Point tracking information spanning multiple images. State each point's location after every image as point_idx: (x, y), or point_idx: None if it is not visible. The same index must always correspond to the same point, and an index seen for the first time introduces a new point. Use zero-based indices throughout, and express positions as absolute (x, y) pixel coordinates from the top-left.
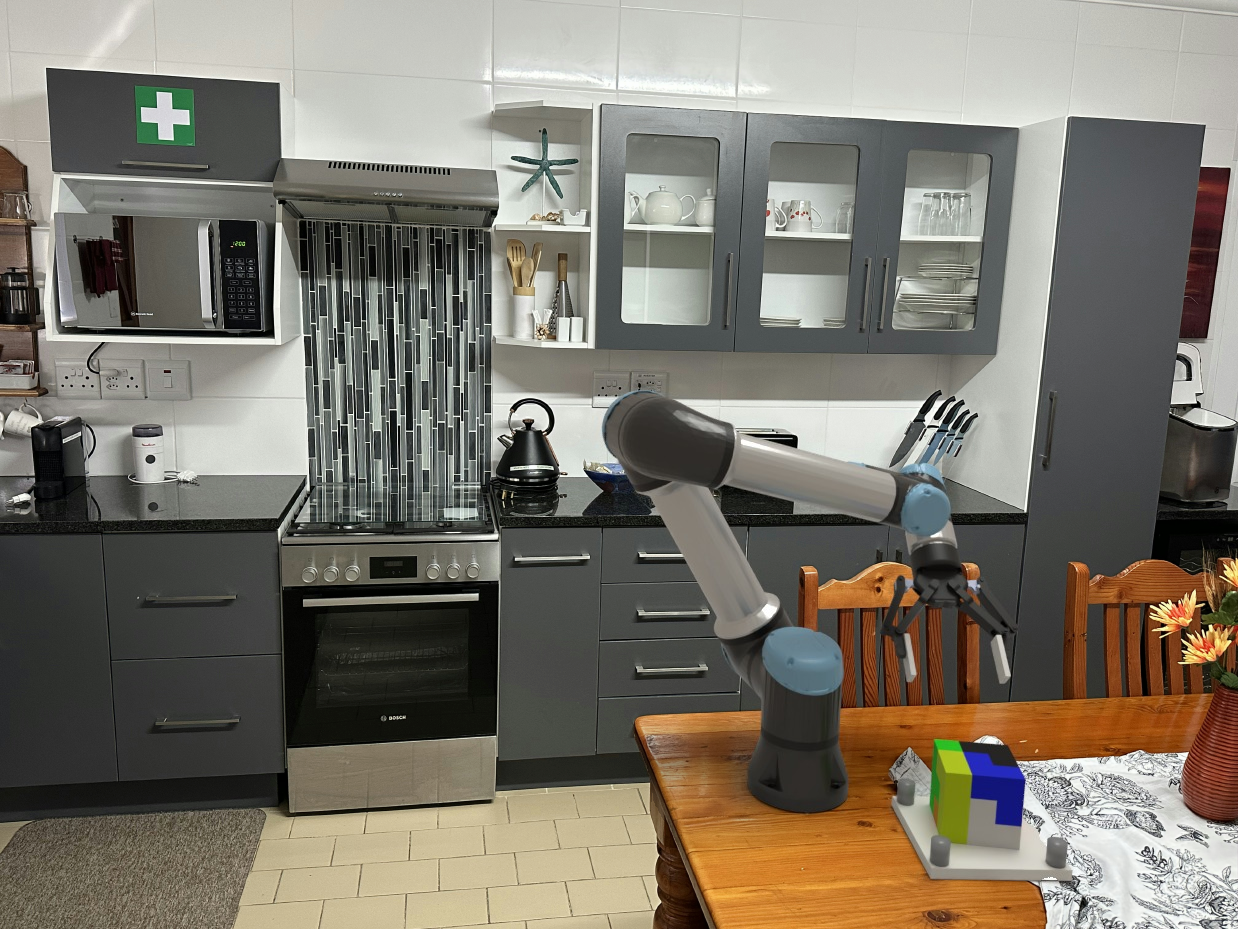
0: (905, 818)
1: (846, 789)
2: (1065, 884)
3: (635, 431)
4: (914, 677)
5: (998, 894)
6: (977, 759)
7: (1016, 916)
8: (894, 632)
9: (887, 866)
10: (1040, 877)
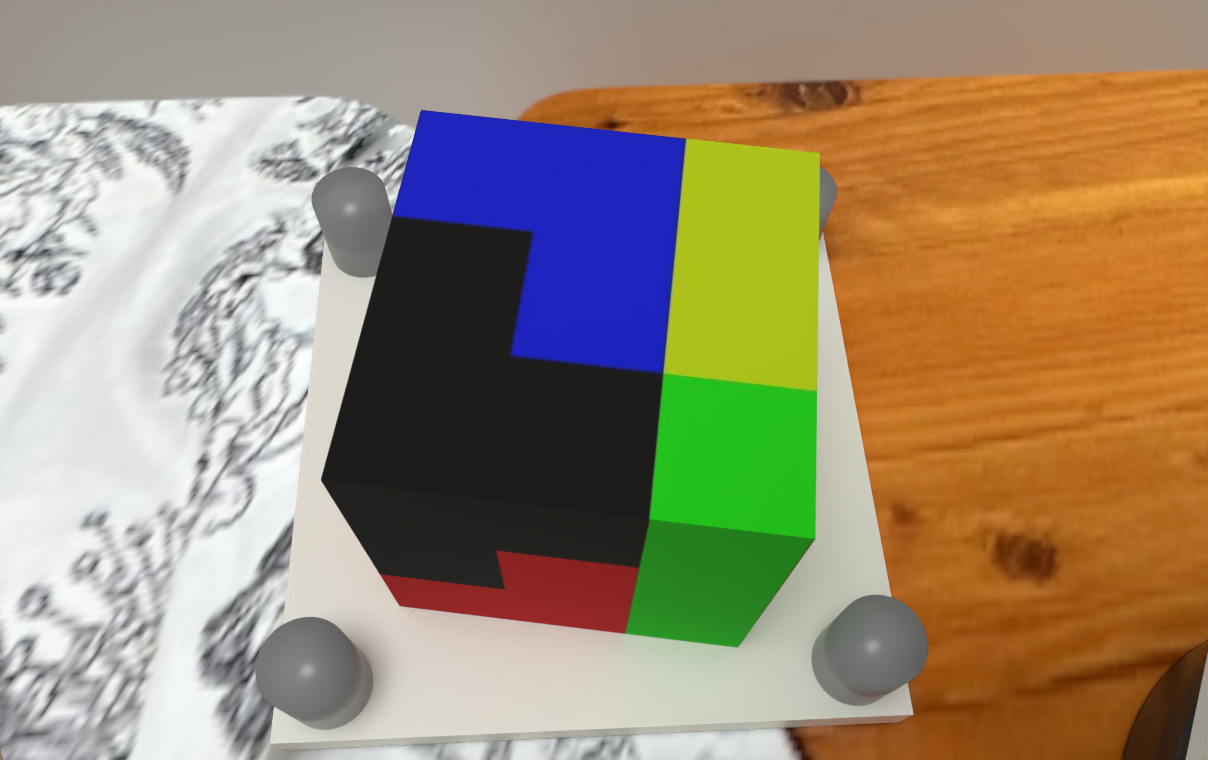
0: (870, 510)
1: (1151, 755)
2: None
3: None
4: (1202, 700)
5: None
6: (602, 286)
7: (593, 94)
8: None
9: (945, 288)
10: None
